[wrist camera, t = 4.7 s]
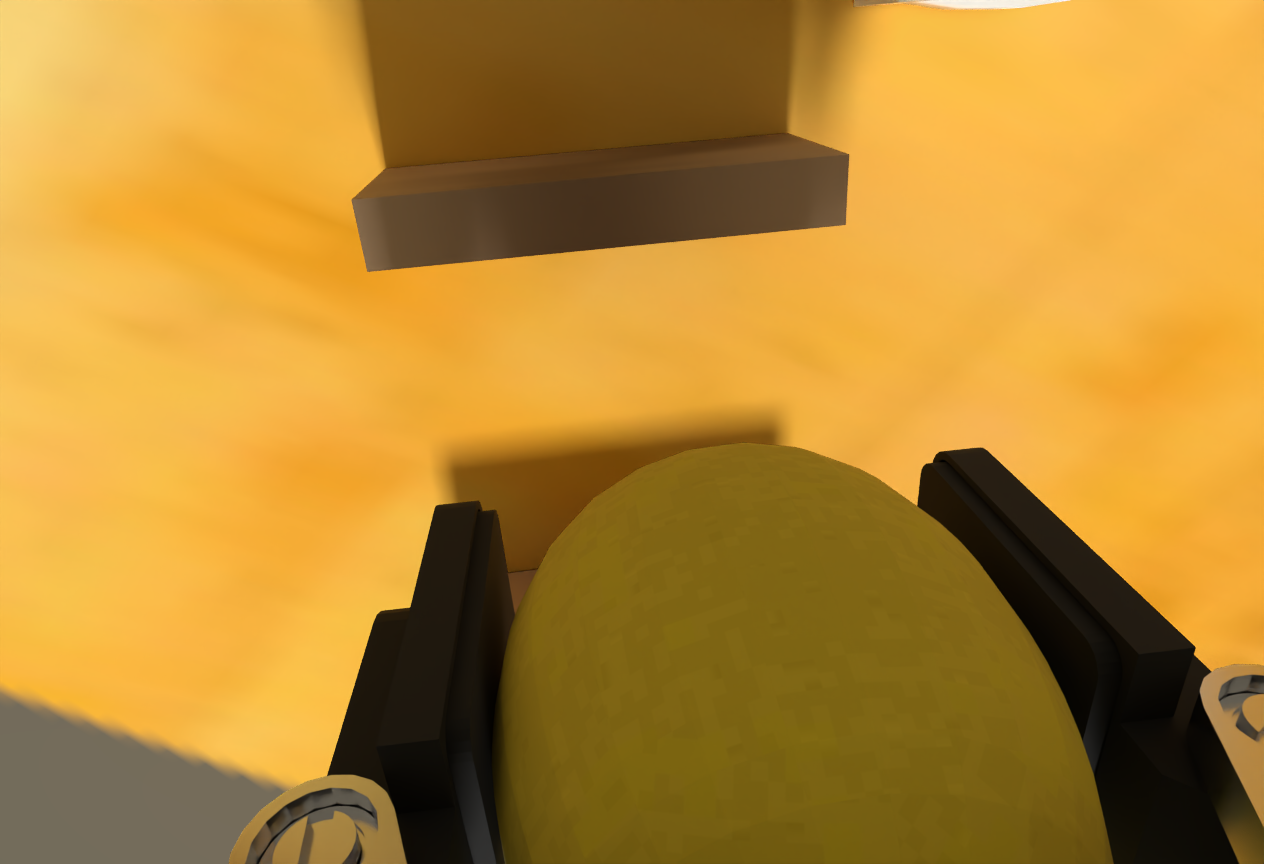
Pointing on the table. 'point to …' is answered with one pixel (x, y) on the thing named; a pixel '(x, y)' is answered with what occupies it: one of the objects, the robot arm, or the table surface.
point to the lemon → (778, 684)
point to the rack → (597, 205)
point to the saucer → (959, 3)
